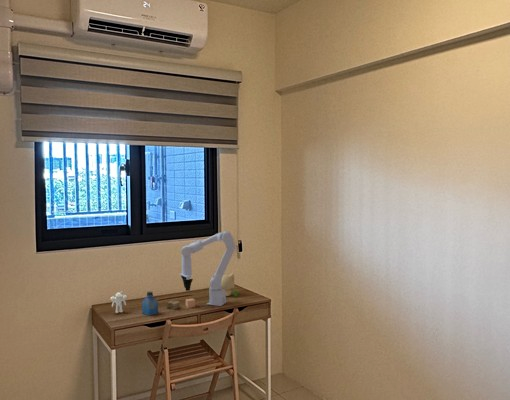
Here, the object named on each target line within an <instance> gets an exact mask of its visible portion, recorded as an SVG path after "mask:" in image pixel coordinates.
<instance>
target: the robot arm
mask: <svg viewBox="0 0 510 400" xmlns="http://www.w3.org/2000/svg"><path fill="white" fill-rule="evenodd" d="M214 242H220V243H221V242H223V243H224V245H225V247H226V249H225V251H224V253H223V254H222V257H221V259H220V262H219V265H218V266H217V268H216V271H215V272H214V274H213V276H211V278H210V279H209V289H208V291H209V292H208V293H209V294H208V295H209V296H208V297H209V301H208V302H207V303H206V305H210V306H217V307H219V306H220V307H221V306H224V304H227V296H226V292H225V290H223V289H221V280H222V277H223V275H225V272H226V271H227V267H228V266H229V264H230V261H231V258H232V256H233V254H234V252H235V250H236V246H235V245H236V244H235V239H234V237H233V235H232V233H231V232H230V231H228V230H223V231H222V232H217V233H215V234H214V235H211V236H210V237H208V238H206V239H203V240H200V239H196V240H194V242H192V243H189V244H187V245H184V246H183V247H182V248H181V250H180V251H181V253H180V254H181V273H179V276H180V277H181V279H182V282H183V287H184V288H185V291H186V292H188V291H189V292H190V291H191V286H192V283H193V280H194V279H193V278H191V276H192V275H193V273H192V268H193V267H192V254H195V253H197V252H199V251H202V250H203V249H204V247H205V246H207V245H210V244H212V243H214Z"/></svg>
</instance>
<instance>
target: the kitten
mask: <svg viewBox="0 0 510 400" xmlns="http://www.w3.org/2000/svg"><path fill="white" fill-rule="evenodd" d="M235 285H236V284H235V274H234V273H233V272H232V273H230V274H223V277H222V280H221V289H223V290H225V292H226V297H230V296H231V295H233V297H234V298H235V297H238V296H239V295H238V294H239V289H238V288H237V291H236V293H235V292H234V288H235V287H236V286H235Z"/></svg>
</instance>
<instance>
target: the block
mask: <svg viewBox="0 0 510 400" xmlns="http://www.w3.org/2000/svg"><path fill="white" fill-rule="evenodd" d="M186 306H187V307H186ZM185 307H186V308H189V309H190V308H196V299H194V298H187V299H186V298H185Z"/></svg>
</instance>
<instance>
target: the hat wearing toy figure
mask: <svg viewBox="0 0 510 400" xmlns="http://www.w3.org/2000/svg"><path fill="white" fill-rule="evenodd" d="M123 292H124V290H121V291H120V292H116V293H115V296H114V295H113V296H111V297H110V301H112V303H111V308H113V307H114V306H115V313H116V314H119V313H123V305H124V306H127V302H126V300H127V299H128V297H127V295H126V294H122V293H123ZM122 302H123V303H122Z"/></svg>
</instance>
